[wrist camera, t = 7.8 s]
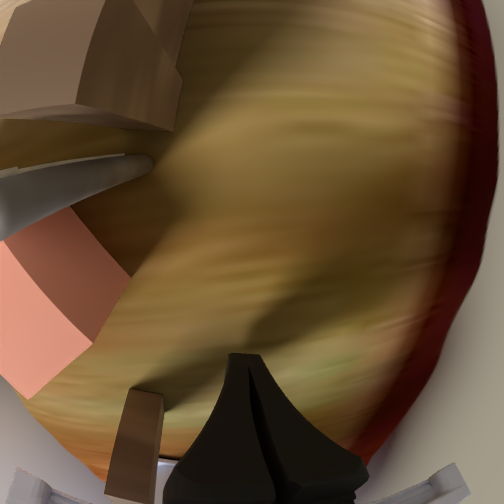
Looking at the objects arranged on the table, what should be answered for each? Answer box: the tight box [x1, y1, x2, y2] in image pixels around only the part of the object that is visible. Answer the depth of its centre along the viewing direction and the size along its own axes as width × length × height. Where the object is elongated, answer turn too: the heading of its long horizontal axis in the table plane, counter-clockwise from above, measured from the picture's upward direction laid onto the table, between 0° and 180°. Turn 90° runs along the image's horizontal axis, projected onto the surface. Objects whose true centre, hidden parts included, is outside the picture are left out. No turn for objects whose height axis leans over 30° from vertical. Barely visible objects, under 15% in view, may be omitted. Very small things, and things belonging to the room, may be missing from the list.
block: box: [0, 206, 131, 400], centre depth 8 cm, size 7×5×4 cm
